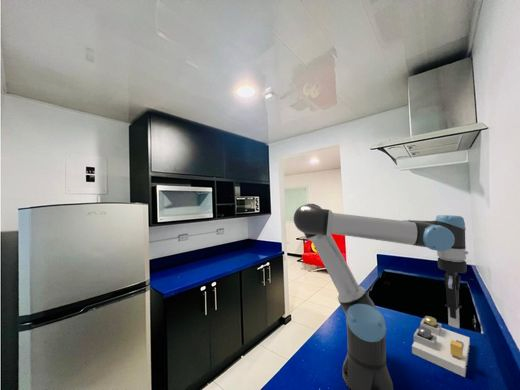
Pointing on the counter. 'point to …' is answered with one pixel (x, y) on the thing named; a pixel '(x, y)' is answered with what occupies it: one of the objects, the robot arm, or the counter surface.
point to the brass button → (430, 321)
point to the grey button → (425, 333)
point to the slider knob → (456, 349)
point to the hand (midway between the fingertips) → (453, 325)
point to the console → (441, 348)
